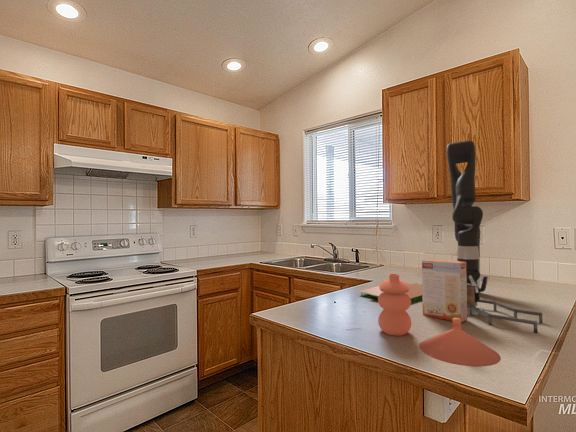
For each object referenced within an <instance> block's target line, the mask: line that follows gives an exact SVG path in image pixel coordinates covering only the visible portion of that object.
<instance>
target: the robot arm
mask: <svg viewBox="0 0 576 432" xmlns="http://www.w3.org/2000/svg"><path fill="white" fill-rule="evenodd" d="M476 155H477V154H476V145H475V143H474V141H472V140H464V141H457V142H451V143H448V144H447V146H446V158H447V165H448V172H449V175H450V176H449V177H450V190H451V201H452V209H453V212H452V217H451V218H452V221H453V224H454V238H455V241H456V242H457V250H456V251H457V252H456V257H457V258H456V261H462V262H466V275H467V284H472V286H473V287H475V302H477V303H479V302H478V301H479V300H480V299H481V297H480V296H481V295H480V294H481V292H485V291H486V290H487V289H486V288H487V285H488V281H489V276H488V275H482V274H481V254H480V253H481V252H480V251H481V249H480V248H481V247H480V243H481V241H480V240H481V224H482V220H483V217H484V212H483V209H482V207H480V206H477V205H476V206H473V205H474V203H475V202H476V200H477V199H476V198H477V197H476V196H477V195H476V194H477V193H476V185H475V183H476V182H475V178H476V158H477V157H476ZM465 163H466V167H465V169H463V172H461V171H460V170H459V168H458V165H457V164H465Z"/></svg>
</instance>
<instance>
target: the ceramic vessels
mask: <svg viewBox="0 0 576 432" xmlns="http://www.w3.org/2000/svg"><path fill="white" fill-rule="evenodd" d="M407 283H408V282H405V281H403V280H401V279H400V274H399V273H389V274H388V279H385V280H382V281H381V282H380V283H379V285H378V286H379V289H380V290H381V291H382V292H383V293H381V294H380V295H379V297H378V299H377V301H378V305H379V307H380V308H382V309H383V310H381V311H380V313H379V316H378V320H377V321H378V322H377V323H378V327H379V329H380V330H381V331H382V332H383V333H384V334H387V335H389V336H395V337H396V336H397V337H398V336H399V337H401V336H405V335H406V334H407V333H408V332H409V331H410V330H411V328H412V318H411V316H410V314H409V313H408V312H407V310H408V309H409V308H410V307H411V305H412V302H411V299H410V297H409V296H408V295H407V294H405V293H407V292H408V291H409V290H410V287H409V285H408V284H409V283H408V284H407ZM451 323H452V328H451V329H449V330H447V331H444V332H441V333H439V334H437V335H434V336H432V337H428V338H427V339H425V340H422V341H420V343H419V344H418V347H419V349H420V351H422V353H424V354H425V355H427V356H429V357H431V358H433V359H436V360H437V361H441V362H443V363H448V364H453V365H457V366H464V367H478V368H479V367H489V366H494V365H497V364H498V363H500V361H501V360H502V359H501V356H500V354H499V353H498V352H496V350H494V349H492V348H491V347H489V346H488V345H486V344H485V343H483V342H481V341H480V340H478V339H477V338H475V337H473V336H472V335H470V334H469V333H468V332H465V331H464V330H462V322H461V319H460V318H453V321H451Z"/></svg>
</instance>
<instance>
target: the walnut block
mask: <svg viewBox="0 0 576 432" xmlns="http://www.w3.org/2000/svg"><path fill="white" fill-rule="evenodd" d="M467 305H471V306H474V307H476V308H477V306H478V302H475V287H473V286H472V284H467Z"/></svg>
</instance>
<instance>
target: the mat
mask: <svg viewBox="0 0 576 432" xmlns="http://www.w3.org/2000/svg"><path fill="white" fill-rule="evenodd" d="M477 308H478V309H480V310H483V311H485V310H484V308H482V307H477ZM479 314H480V313H478V312H476V311H474V310H472V316H478V315H479ZM467 315H469V308H467Z"/></svg>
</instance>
